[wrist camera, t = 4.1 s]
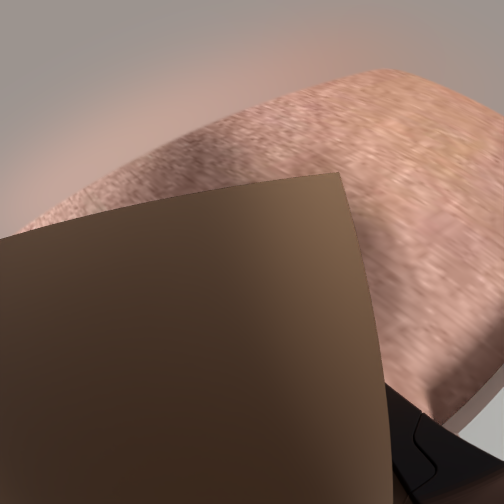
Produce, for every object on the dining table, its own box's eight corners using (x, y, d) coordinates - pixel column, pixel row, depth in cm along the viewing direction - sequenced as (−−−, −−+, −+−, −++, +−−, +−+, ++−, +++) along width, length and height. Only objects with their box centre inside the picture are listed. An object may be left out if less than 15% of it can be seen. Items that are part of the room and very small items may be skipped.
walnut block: (323, 460, 12) (379, 646, 1) (217, 466, 13) (-16, 554, 1) (314, 360, 14) (339, 171, 3) (212, 369, 15) (-13, 242, 4)
